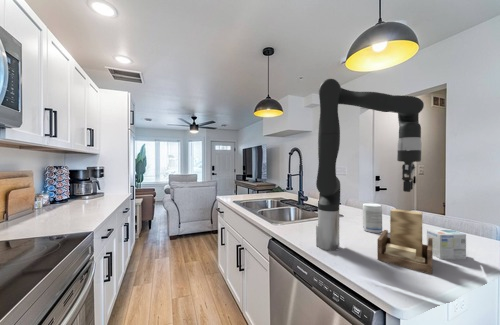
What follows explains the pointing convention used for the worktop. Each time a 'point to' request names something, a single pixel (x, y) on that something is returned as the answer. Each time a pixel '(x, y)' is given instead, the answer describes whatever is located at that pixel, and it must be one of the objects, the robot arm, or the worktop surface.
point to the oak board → (406, 229)
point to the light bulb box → (448, 244)
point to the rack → (426, 253)
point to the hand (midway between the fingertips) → (408, 190)
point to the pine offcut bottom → (418, 259)
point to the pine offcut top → (401, 251)
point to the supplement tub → (372, 217)
